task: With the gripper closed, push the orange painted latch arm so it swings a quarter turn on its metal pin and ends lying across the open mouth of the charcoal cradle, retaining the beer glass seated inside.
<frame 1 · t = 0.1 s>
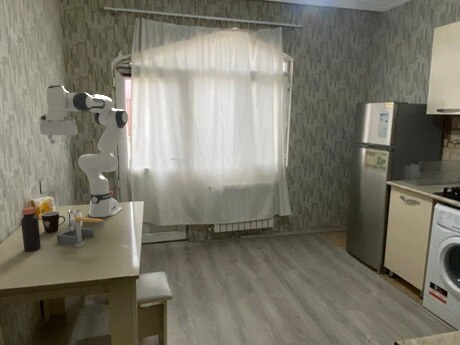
hand: (60, 143, 167), 48 cm above the table, fingers open, 8 cm apart
coffee mug: (53, 231, 173), on the table
bottle: (32, 249, 151), on the table
beer glass: (76, 240, 162), resting in cradle
cradle: (76, 239, 162), on the table
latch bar: (89, 222, 152), point 12 cm above the table, hinge at 0.0°
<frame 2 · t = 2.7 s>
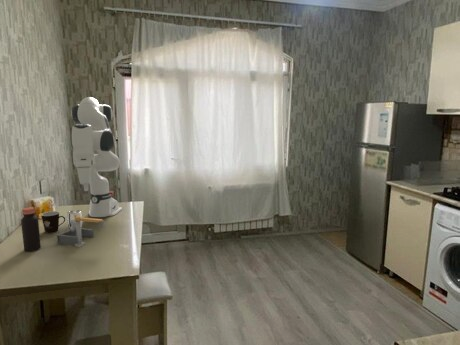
hand: (86, 190, 144), 29 cm above the table, fingers closed
nothing on the table moved.
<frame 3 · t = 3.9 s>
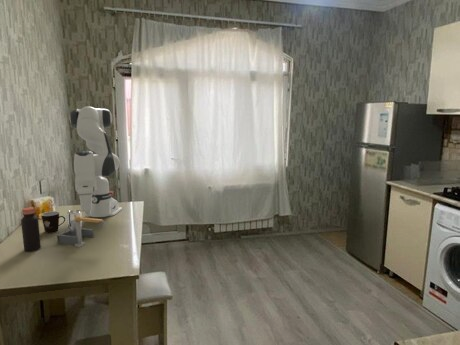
hand: (88, 215, 146), 17 cm above the table, fingers closed
nothing on the table moved.
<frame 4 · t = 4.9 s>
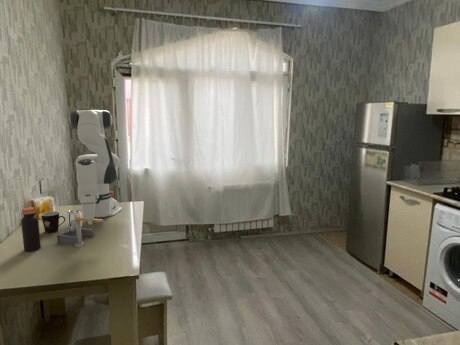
hand: (90, 223, 149), 13 cm above the table, fingers closed
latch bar: (89, 222, 152), point 12 cm above the table, hinge at 0.0°, touching gripper
everything else where it was.
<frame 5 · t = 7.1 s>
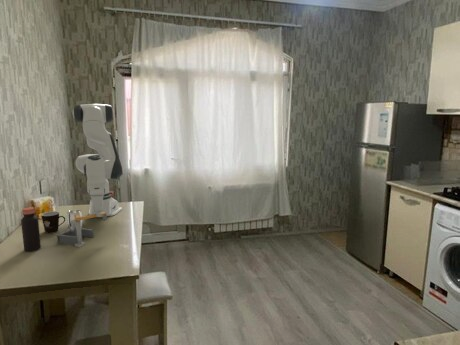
hand: (98, 215, 158), 14 cm above the table, fingers closed
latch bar: (91, 218, 157), point 12 cm above the table, hinge at 55.0°, touching gripper
everything else where it was.
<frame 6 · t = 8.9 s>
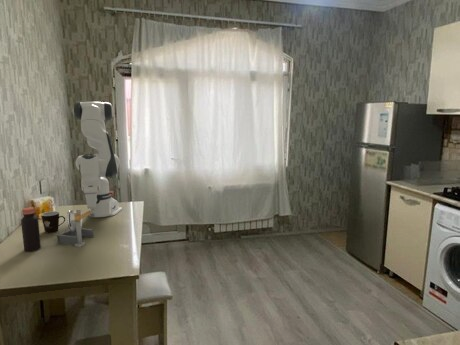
hand: (92, 212, 162), 14 cm above the table, fingers closed
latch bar: (85, 217, 159), point 12 cm above the table, hinge at 96.3°, touching gripper
everything else where it was.
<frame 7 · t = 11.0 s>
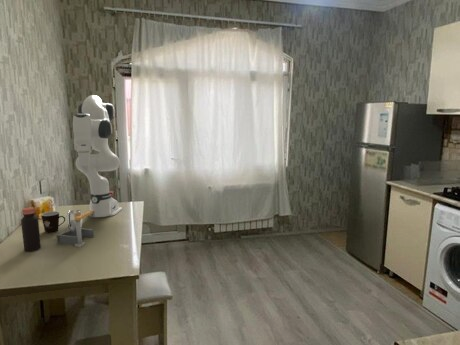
hand: (86, 173, 162), 34 cm above the table, fingers closed
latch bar: (85, 217, 159), point 12 cm above the table, hinge at 96.3°
everything else where it was.
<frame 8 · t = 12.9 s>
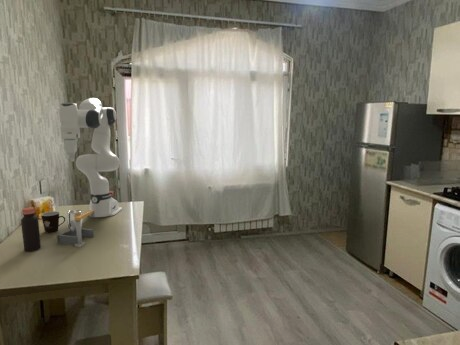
hand: (72, 161, 165), 39 cm above the table, fingers closed
nothing on the table moved.
at the end: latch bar at +96° (first picture: +0°); beer glass tilted 0°; beer glass moved 0.2 cm from its start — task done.
